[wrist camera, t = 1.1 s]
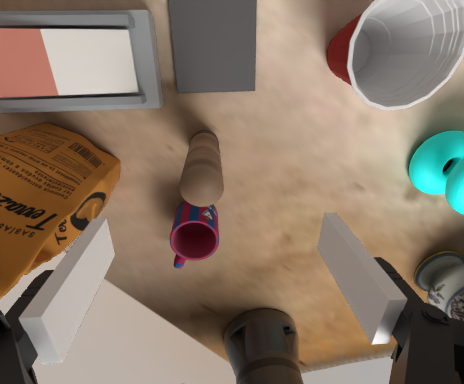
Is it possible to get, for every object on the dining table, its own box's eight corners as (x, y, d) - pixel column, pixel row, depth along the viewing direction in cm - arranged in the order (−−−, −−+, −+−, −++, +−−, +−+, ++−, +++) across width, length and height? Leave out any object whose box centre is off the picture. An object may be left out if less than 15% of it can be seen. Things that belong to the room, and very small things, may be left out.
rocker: (129, 31, 28) (128, 29, 27) (138, 91, 31) (138, 92, 29) (-51, 29, 25) (-62, 27, 23) (-23, 97, 27) (-32, 98, 26)
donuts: (443, 215, 33) (490, 138, 29) (393, 184, 42) (424, 122, 38) (507, 225, 35) (559, 154, 31) (446, 193, 44) (480, 135, 40)
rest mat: (254, 90, 35) (255, 90, 34) (178, 92, 34) (177, 93, 34) (255, -2, 30) (256, -3, 30) (168, -1, 30) (168, -3, 29)
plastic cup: (289, 73, 34) (326, 75, 23) (340, -17, 31) (412, -64, 20) (352, 113, 37) (411, 131, 26) (406, 35, 33) (500, 19, 23)
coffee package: (103, 212, 41) (0, 348, 21) (18, 169, 37) (-206, 286, 17) (133, 161, 38) (47, 265, 18) (44, 109, 34) (-191, 166, 14)
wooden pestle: (219, 157, 38) (224, 205, 25) (191, 158, 38) (181, 207, 24) (218, 129, 37) (223, 165, 23) (189, 130, 36) (177, 167, 23)
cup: (225, 211, 42) (228, 235, 36) (192, 253, 45) (189, 282, 39) (190, 189, 40) (186, 211, 34) (157, 235, 43) (149, 263, 37)
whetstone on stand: (164, 105, 35) (156, 111, 30) (5, 109, 33) (-31, 116, 28) (152, 15, 30) (141, 4, 25) (-30, 16, 29) (-79, 5, 24)
